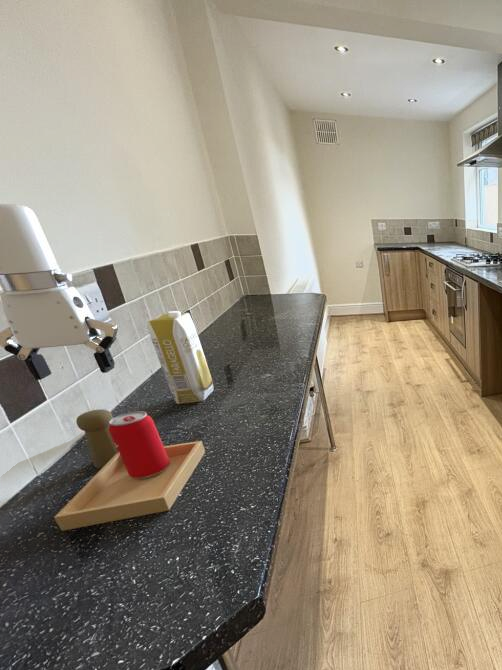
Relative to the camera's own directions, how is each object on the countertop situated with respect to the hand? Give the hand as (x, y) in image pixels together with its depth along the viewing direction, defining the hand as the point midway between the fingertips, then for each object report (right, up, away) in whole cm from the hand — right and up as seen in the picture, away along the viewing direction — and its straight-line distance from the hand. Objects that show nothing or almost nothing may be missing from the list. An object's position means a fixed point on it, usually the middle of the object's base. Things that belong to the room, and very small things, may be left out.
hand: (76, 373), depth 77 cm
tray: (+13, -21, 0) cm, 25 cm away
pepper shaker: (-1, -18, +8) cm, 20 cm away
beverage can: (+12, -19, +3) cm, 23 cm away
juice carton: (-5, -6, +36) cm, 36 cm away
